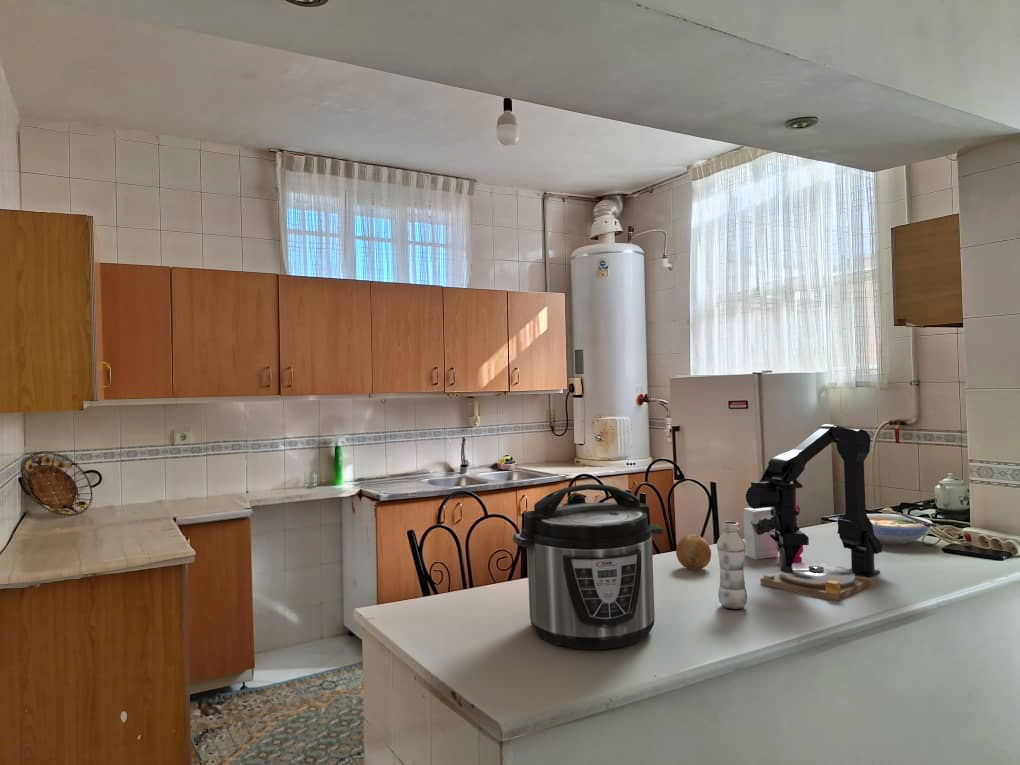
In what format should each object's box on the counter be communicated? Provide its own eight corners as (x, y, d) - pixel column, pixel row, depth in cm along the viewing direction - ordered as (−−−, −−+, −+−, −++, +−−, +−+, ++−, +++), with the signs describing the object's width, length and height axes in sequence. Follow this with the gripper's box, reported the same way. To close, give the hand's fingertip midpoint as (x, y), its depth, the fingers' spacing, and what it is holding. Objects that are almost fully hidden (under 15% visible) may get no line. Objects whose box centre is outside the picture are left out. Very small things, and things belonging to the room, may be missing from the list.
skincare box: (767, 553, 214) (766, 505, 214) (779, 557, 208) (778, 508, 208) (743, 555, 212) (742, 507, 212) (754, 559, 206) (753, 510, 206)
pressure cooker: (501, 647, 141) (498, 492, 141) (545, 605, 167) (542, 475, 167) (648, 665, 130) (644, 497, 130) (670, 618, 156) (667, 478, 156)
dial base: (799, 570, 193) (799, 556, 193) (873, 584, 178) (872, 569, 178) (760, 584, 181) (760, 569, 181) (836, 601, 165) (835, 584, 165)
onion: (707, 565, 201) (707, 530, 202) (714, 574, 192) (713, 538, 192) (674, 564, 202) (673, 530, 203) (679, 573, 193) (678, 538, 193)
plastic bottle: (733, 613, 158) (731, 526, 158) (712, 605, 164) (710, 521, 164) (753, 609, 161) (751, 523, 161) (732, 601, 167) (730, 519, 167)
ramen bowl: (842, 534, 239) (841, 510, 239) (912, 534, 236) (912, 510, 236) (870, 550, 214) (869, 524, 214) (949, 551, 211) (948, 524, 211)
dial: (839, 569, 187) (838, 540, 187) (866, 588, 169) (865, 556, 169) (771, 568, 189) (770, 540, 189) (791, 587, 171) (790, 556, 171)
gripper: (744, 500, 190) (746, 556, 190) (762, 512, 172) (764, 574, 172) (786, 499, 189) (787, 556, 189) (808, 511, 171) (810, 574, 170)
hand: (786, 565), depth 180 cm, fingers open, 3 cm apart
